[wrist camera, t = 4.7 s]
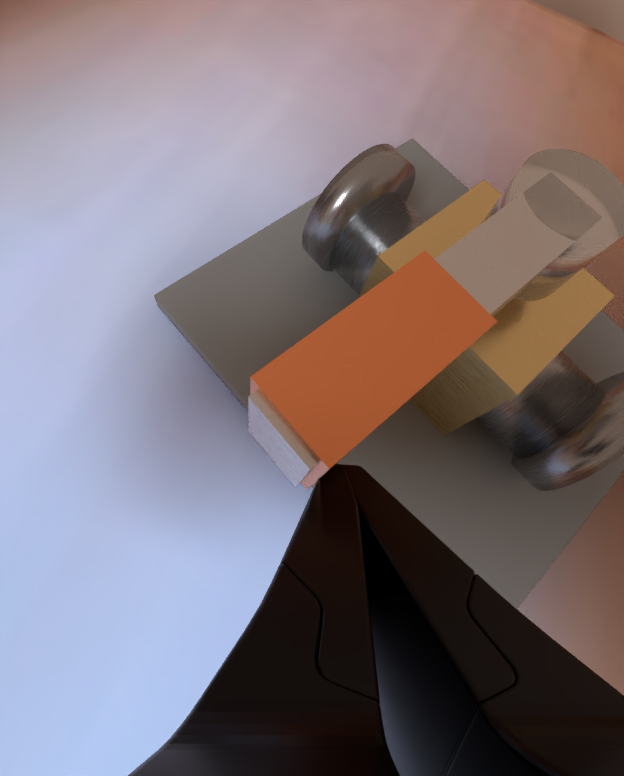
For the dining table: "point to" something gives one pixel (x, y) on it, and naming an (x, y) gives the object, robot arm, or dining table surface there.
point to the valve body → (497, 345)
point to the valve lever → (431, 314)
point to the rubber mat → (408, 424)
